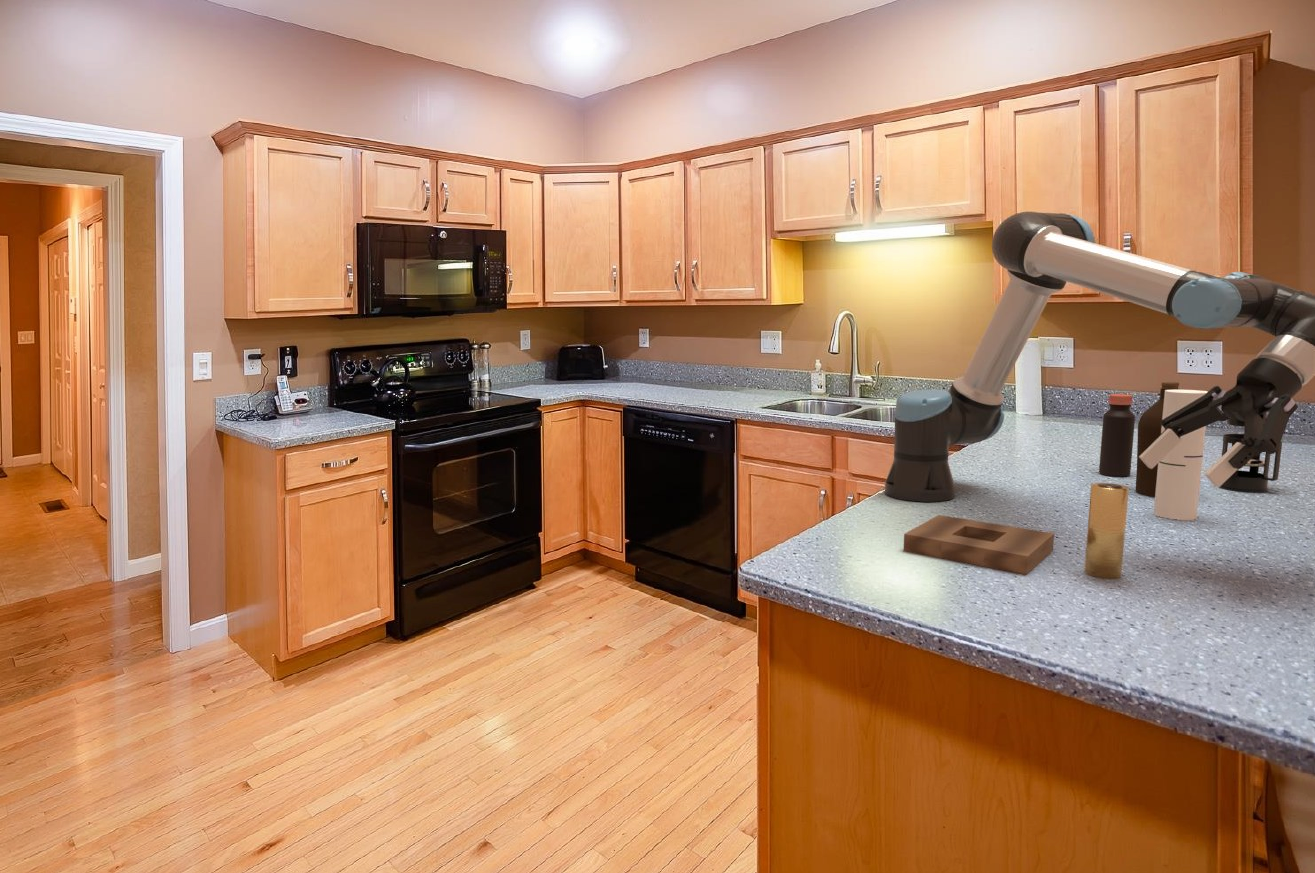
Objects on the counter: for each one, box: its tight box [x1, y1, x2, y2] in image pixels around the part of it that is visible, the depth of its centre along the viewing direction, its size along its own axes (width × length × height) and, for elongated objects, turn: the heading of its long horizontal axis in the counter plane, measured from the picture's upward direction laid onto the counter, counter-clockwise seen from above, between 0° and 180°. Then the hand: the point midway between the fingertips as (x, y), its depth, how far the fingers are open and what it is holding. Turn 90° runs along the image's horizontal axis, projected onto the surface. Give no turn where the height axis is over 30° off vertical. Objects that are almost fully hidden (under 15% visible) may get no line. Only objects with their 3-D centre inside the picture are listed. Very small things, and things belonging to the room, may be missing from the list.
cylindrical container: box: [1153, 389, 1209, 521], centre depth 150 cm, size 7×7×25 cm
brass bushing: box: [1084, 482, 1129, 580], centre depth 118 cm, size 5×5×14 cm
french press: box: [1218, 414, 1283, 494], centre depth 172 cm, size 12×9×23 cm
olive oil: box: [1135, 381, 1180, 498], centre depth 168 cm, size 11×11×25 cm
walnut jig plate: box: [903, 514, 1055, 576], centre depth 131 cm, size 20×16×3 cm
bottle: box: [1098, 393, 1136, 478], centre depth 189 cm, size 7×7×20 cm
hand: (1176, 471), depth 117 cm, fingers open, 13 cm apart
